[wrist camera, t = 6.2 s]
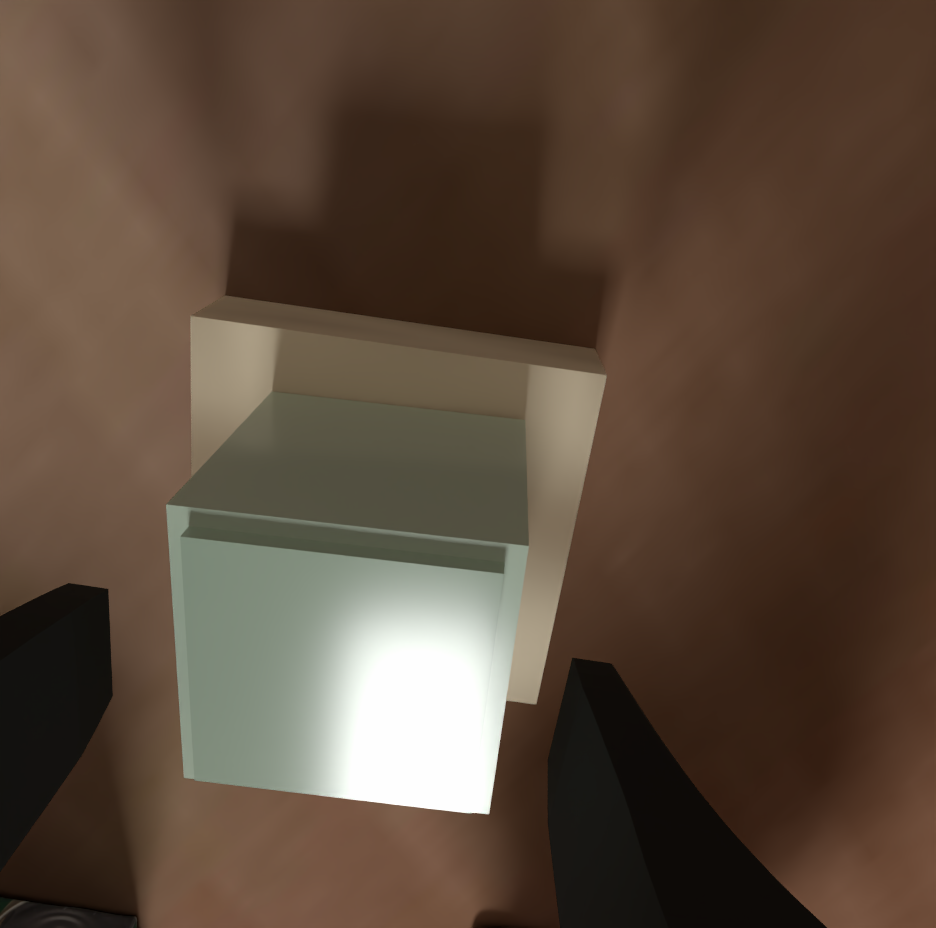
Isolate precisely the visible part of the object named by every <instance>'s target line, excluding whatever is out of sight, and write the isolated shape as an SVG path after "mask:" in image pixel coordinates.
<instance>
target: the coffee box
mask: <svg viewBox="0 0 936 928" xmlns="http://www.w3.org/2000/svg"><path fill="white" fill-rule="evenodd" d="M0 928H137V919H136V917H135V916H123V915H115V914H109V913H103V912H97V911H93V910H89V909H82V908H75V907H62V906H54V905H46V904H41V903H34V902H28V901H22V900H15V899H9V898H2V897H0Z"/></svg>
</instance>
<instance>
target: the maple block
mask: <svg viewBox="0 0 936 928" xmlns="http://www.w3.org/2000/svg"><path fill="white" fill-rule="evenodd" d="M606 377H607V374H606V372H605V370H604V368H603V365H602V363H601V361H600V359H599V356H598V354H597V352H596V350H595V349H593V348H586V347H579V346H572V345H565V344H558V343H551V342H544V341H537V340H530V339H524V338H517V337H510V336H503V335H496V334H489V333H482V332H475V331H468V330H461V329H454V328H447V327H440V326H433V325H427V324H420V323H413V322H406V321H399V320H392V319H385V318H378V317H371V316H364V315H357V314H350V313H343V312H336V311H330V310H323V309H316V308H309V307H302V306H295V305H288V304H281V303H274V302H267V301H260V300H253V299H246V298H239V297H233V296H226V295H225V296H224V297H222V298H220V299H219V300H217V301H215V302H213V303H212V304H210V305H208V306H207V307H205V308H203V309H202V310H200V311H198V312H196V313H195V314H193V315H191V477H192V476H193V475H194V474H195V473H196V472H197V471H198V470H199V469H200V468H201V467H202V466H203V465H204V464H205V462H206V461H207V460H208V459H209V458H210V457H211V456H212V455H213V454H214V453H215V452H216V451H217V450H218V449H219V447H220V446H221V445H222V444H223V443H224V442H225V441H226V440H227V439H228V438H229V437H230V436H231V435H232V434H233V433H234V431H235V430H236V429H237V428H238V427H239V426H240V425H241V424H242V423H243V422H244V421H245V420H246V419H247V418H248V416H249V415H250V414H251V413H252V412H253V411H254V410H255V409H256V408H257V407H258V406H259V405H260V404H261V403H262V402H263V400H264V399H265V398H266V397H267V396H268V395H269V394H270V393H271V392H281V393H290V394H299V395H308V396H317V397H326V398H334V399H343V400H352V401H361V402H370V403H379V404H388V405H397V406H406V407H414V408H423V409H432V410H441V411H450V412H459V413H468V414H477V415H486V416H495V417H503V418H512V419H521V420H525V428H526V463H527V498H528V533H529V549H528V555H527V562H526V569H525V576H524V582H523V589H522V596H521V602H520V609H519V616H518V623H517V629H516V636H515V643H514V650H513V656H512V663H511V670H510V677H509V683H508V690H507V697H506V701H514V702H521V703H529V704H536V703H537V699H538V694H539V689H540V685H541V680H542V675H543V671H544V666H545V661H546V657H547V652H548V647H549V643H550V638H551V633H552V629H553V624H554V619H555V615H556V610H557V606H558V601H559V596H560V592H561V587H562V582H563V578H564V573H565V568H566V564H567V559H568V554H569V550H570V545H571V540H572V536H573V531H574V526H575V522H576V517H577V512H578V508H579V503H580V498H581V494H582V489H583V484H584V480H585V475H586V470H587V466H588V461H589V456H590V452H591V447H592V442H593V438H594V433H595V428H596V424H597V419H598V414H599V410H600V405H601V400H602V396H603V391H604V386H605V382H606Z"/></svg>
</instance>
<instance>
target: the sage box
mask: <svg viewBox="0 0 936 928" xmlns="http://www.w3.org/2000/svg"><path fill="white" fill-rule="evenodd" d="M166 509H167V524H168V540H169V555H170V570H171V586H172V601H173V616H174V632H175V647H176V662H177V678H178V693H179V709H180V724H181V739H182V755H183V770H184V778H190V779H194V780H196V781H204V782H212V783H221V784H229V785H237V786H246V787H254V788H262V789H271V790H279V791H287V792H296V793H304V794H312V795H321V796H329V797H337V798H346V799H354V800H362V801H371V802H379V803H388V804H396V805H404V806H413V807H421V808H429V809H438V810H446V811H454V812H463V813H471V814H472V812H474V813H482V814H489V811H490V805H491V798H492V791H493V784H494V778H495V771H496V764H497V757H498V751H499V744H500V737H501V730H502V724H503V717H504V710H505V704H506V697H507V690H508V683H509V677H510V670H511V663H512V656H513V650H514V643H515V636H516V629H517V623H518V616H519V609H520V602H521V596H522V589H523V582H524V576H525V569H526V562H527V555H528V549H529V533H528V498H527V463H526V428H525V420H521V419H512V418H503V417H495V416H486V415H477V414H468V413H459V412H450V411H441V410H432V409H423V408H414V407H406V406H397V405H388V404H379V403H370V402H361V401H352V400H343V399H334V398H326V397H317V396H308V395H299V394H290V393H281V392H271V393H270V394H269V395H268V396H267V397H266V398H265V399H264V400H263V402H262V403H261V404H260V405H259V406H258V407H257V408H256V409H255V410H254V411H253V412H252V413H251V414H250V415H249V416H248V418H247V419H246V420H245V421H244V422H243V423H242V424H241V425H240V426H239V427H238V428H237V429H236V430H235V431H234V433H233V434H232V435H231V436H230V437H229V438H228V439H227V440H226V441H225V442H224V443H223V444H222V445H221V446H220V447H219V449H218V450H217V451H216V452H215V453H214V454H213V455H212V456H211V457H210V458H209V459H208V460H207V461H206V462H205V464H204V465H203V466H202V467H201V468H200V469H199V470H198V471H197V472H196V473H195V474H194V475H193V476H192V477H191V478H190V480H189V481H188V482H187V483H186V484H185V485H184V486H183V487H182V488H181V489H180V490H179V491H178V492H177V493H176V495H175V496H174V497H173V498H172V499H171V500H170V501H169V502H168V503H167V504H166Z"/></svg>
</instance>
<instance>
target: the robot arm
mask: <svg viewBox="0 0 936 928" xmlns="http://www.w3.org/2000/svg"><path fill="white" fill-rule="evenodd" d="M112 696H113V693H112V669H111V645H110V621H109V597H108V589H105V588H98V587H91V586H84V585H78V584H71V583H68V584H66V585H63V586H61V587H59V588H56V589H54V590H52V591H50V592H48V593H46V594H44V595H41V596H39V597H37V598H35V599H33V600H31V601H29V602H27V603H25V604H23V605H21V606H19V607H17V608H15V609H13V610H11V611H9V612H7V613H5V614H4V615H2V616H0V871H1V870H2V869H3V867H4V866H5V864H6V863H7V861H8V860H9V859H10V857H11V856H12V854H13V853H14V852H15V850H16V849H17V847H18V846H19V844H20V843H21V842H22V840H23V839H24V837H25V836H26V835H27V833H28V832H29V830H30V829H31V827H32V826H33V825H34V823H35V822H36V820H37V819H38V818H39V816H40V815H41V813H42V812H43V810H44V809H45V808H46V806H47V805H48V803H49V802H50V801H51V799H52V798H53V796H54V795H55V793H56V792H57V790H58V789H59V788H60V786H61V785H62V783H63V782H64V780H65V779H66V777H67V776H68V775H69V773H70V772H71V770H72V769H73V767H74V766H75V764H76V763H77V761H78V760H79V758H80V757H81V755H82V754H83V752H84V750H85V748H86V746H87V744H88V743H89V741H90V739H91V737H92V735H93V733H94V732H95V730H96V728H97V726H98V724H99V722H100V720H101V718H102V716H103V714H104V712H105V710H106V708H107V706H108V704H109V702H110V700H111V698H112ZM548 827H549V837H550V846H551V854H552V863H553V872H554V880H555V888H556V896H557V905H558V913H559V921H560V928H827V927H826V926H825V925H824V924H823V923H821V922H820V921H819V920H818V919H817V918H816V917H815V916H814V915H813V914H812V913H811V912H810V911H809V910H808V909H806V908H805V907H804V906H803V905H802V904H801V903H800V902H799V901H798V900H797V899H796V898H795V897H794V896H793V895H792V894H791V893H790V892H789V891H788V890H787V889H786V888H785V887H784V886H783V885H782V884H781V883H780V882H779V881H778V880H777V879H776V878H775V877H774V876H773V875H772V874H771V873H770V872H769V871H768V870H767V869H766V868H765V867H764V866H763V865H762V864H761V863H760V861H759V860H758V859H757V858H756V857H755V856H754V855H753V854H752V853H751V852H750V851H749V850H748V849H747V847H746V846H745V845H744V844H743V843H742V842H741V841H740V840H739V839H738V838H737V837H736V836H735V834H734V833H733V832H732V831H731V830H730V829H729V827H728V826H727V825H726V824H725V823H724V822H723V820H722V819H721V818H720V817H719V816H718V814H717V813H716V812H715V811H714V809H713V808H712V807H711V806H710V805H709V803H708V802H707V801H706V800H705V798H704V797H703V796H702V795H701V793H700V792H699V791H698V790H697V788H696V787H695V786H694V784H693V783H692V782H691V780H690V779H689V778H688V776H687V775H686V774H685V772H684V771H683V769H682V768H681V767H680V765H679V764H678V762H677V761H676V760H675V758H674V757H673V755H672V754H671V753H670V751H669V750H668V748H667V747H666V746H665V744H664V743H663V741H662V740H661V738H660V737H659V735H658V734H657V733H656V731H655V730H654V728H653V727H652V725H651V724H650V722H649V721H648V719H647V717H646V716H645V714H644V713H643V711H642V710H641V708H640V707H639V705H638V704H637V702H636V701H635V699H634V697H633V696H632V694H631V693H630V691H629V690H628V688H627V686H626V685H625V683H624V682H623V680H622V679H621V677H620V675H619V674H618V672H617V671H616V669H615V668H614V667H613V665H612V664H610V663H603V662H597V661H590V660H583V659H576V658H572V662H571V666H570V670H569V674H568V679H567V683H566V687H565V691H564V695H563V699H562V703H561V708H560V712H559V716H558V720H557V724H556V728H555V732H554V736H553V741H552V745H551V749H550V753H549V757H548Z"/></svg>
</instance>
